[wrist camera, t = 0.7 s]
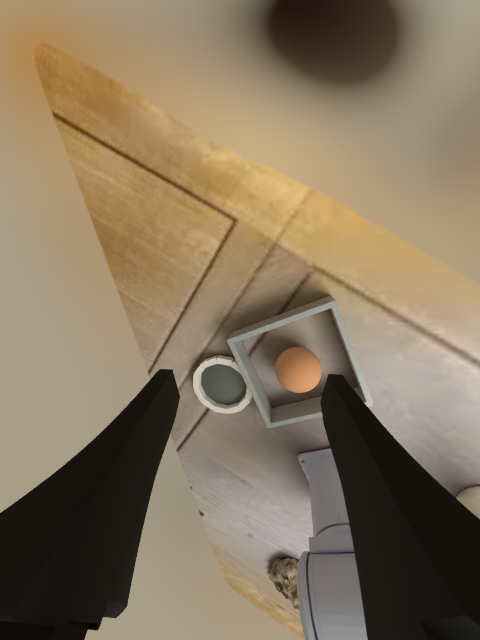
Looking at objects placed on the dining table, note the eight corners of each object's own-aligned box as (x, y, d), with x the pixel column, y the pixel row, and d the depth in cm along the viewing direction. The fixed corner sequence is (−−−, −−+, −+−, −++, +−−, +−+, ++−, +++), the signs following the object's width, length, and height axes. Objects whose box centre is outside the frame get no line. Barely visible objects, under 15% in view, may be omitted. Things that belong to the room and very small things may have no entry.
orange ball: (324, 371, 28) (331, 395, 23) (285, 382, 29) (284, 407, 25) (310, 334, 27) (314, 351, 22) (270, 348, 28) (266, 366, 24)
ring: (263, 399, 31) (262, 405, 29) (211, 413, 33) (209, 419, 32) (238, 346, 29) (236, 350, 28) (187, 364, 32) (183, 368, 30)
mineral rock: (256, 571, 37) (304, 590, 33) (265, 540, 40) (310, 553, 36) (281, 614, 39) (329, 638, 35) (287, 580, 43) (332, 598, 38)
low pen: (365, 389, 27) (374, 405, 24) (270, 412, 31) (267, 428, 28) (330, 295, 25) (335, 300, 22) (232, 331, 29) (226, 340, 26)
